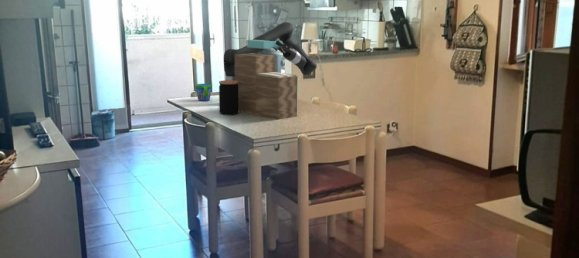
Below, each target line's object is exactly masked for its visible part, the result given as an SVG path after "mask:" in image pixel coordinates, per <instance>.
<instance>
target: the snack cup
mask: <svg viewBox="0 0 579 258" xmlns="http://www.w3.org/2000/svg"><path fill="white" fill-rule="evenodd" d="M194 87H195V91H196V96H197V100H198V101H199V102H208V101H210V100H211V94H212V88H213V84H211V83H196V84H195V85H194Z"/></svg>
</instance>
